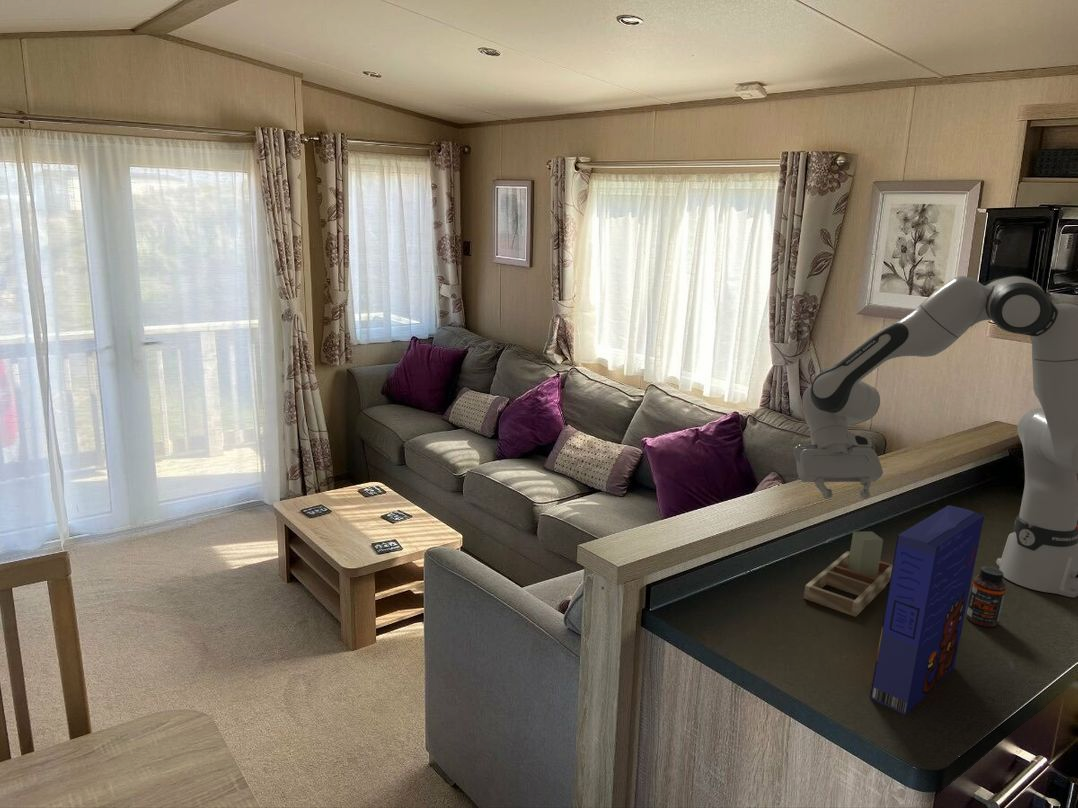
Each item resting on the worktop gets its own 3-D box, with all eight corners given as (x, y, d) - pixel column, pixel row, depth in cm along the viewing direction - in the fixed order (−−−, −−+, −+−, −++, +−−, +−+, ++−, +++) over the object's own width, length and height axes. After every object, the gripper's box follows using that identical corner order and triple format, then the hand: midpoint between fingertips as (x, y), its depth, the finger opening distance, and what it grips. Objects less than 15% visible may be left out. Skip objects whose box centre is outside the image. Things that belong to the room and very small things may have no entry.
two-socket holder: (845, 562, 189) (847, 550, 188) (894, 577, 182) (896, 565, 181) (803, 598, 170) (805, 585, 169) (855, 616, 163) (857, 603, 162)
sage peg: (846, 572, 183) (853, 531, 180) (865, 572, 184) (872, 531, 181) (857, 581, 178) (864, 540, 176) (876, 581, 179) (883, 539, 177)
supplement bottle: (966, 624, 163) (977, 572, 160) (963, 611, 168) (973, 561, 165) (1000, 631, 160) (1011, 579, 158) (995, 617, 166) (1006, 567, 163)
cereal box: (920, 653, 150) (948, 503, 143) (954, 667, 146) (984, 514, 139) (869, 698, 136) (898, 533, 128) (905, 715, 131) (936, 546, 124)
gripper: (797, 438, 190) (811, 492, 183) (876, 439, 193) (893, 491, 186) (786, 450, 195) (799, 503, 188) (864, 451, 198) (880, 502, 191)
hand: (847, 497), depth 187 cm, fingers open, 8 cm apart
